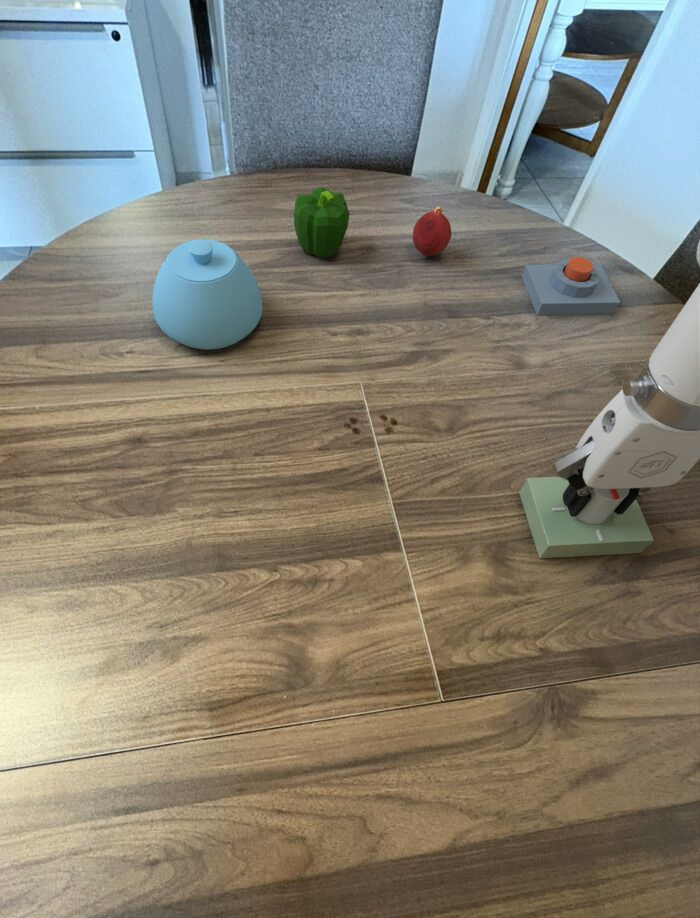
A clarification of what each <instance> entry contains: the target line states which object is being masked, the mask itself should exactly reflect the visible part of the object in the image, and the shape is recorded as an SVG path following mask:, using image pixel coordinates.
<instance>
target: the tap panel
mask: <svg viewBox="0 0 700 918" xmlns="http://www.w3.org/2000/svg"><path fill="white" fill-rule="evenodd" d="M568 485H569V482H568V480H564V479H563V478H561V477H559V476H544V477H527V478H526V479H525V481H524V482H523V484H522V486H521V488H520V489H519V491H518V494H519V497H520V501H521V503H522V507H523V510H524V513H525V517H526V520H527V523H528V526H529V529H530V533H531V536H532V539H533V542H534V545H535V549H536V552H537V555H538V558H539V559H553V558H554V559H556V558H573V557H592V556H593V557H594V556H611V555H612V556H613V555H631V554H641V553H643V551H644V550H646V549H647V548H648V547H649V546H650V545H651V544H652V543H653V542H654V540H655V539H654V537H653V534H652V532H651V530H650V528H649V525H648V523H647V520H646V519H645V516H644V513H643V511H642V509H641V507H640V504H639V502H638V500H637V499H636V500H635V501H634V502H633V503H632V504H631V505H630V506H629V507H628V509H627V510H626V511H625V512H624V513H623V514H616V513H615V512H614V511H613V513H612V514H611V515H610V516H609V517H608V518H607V520H606V521H604V522H603V523H600V524H588V523H585V522H583V521H581V520H580V519H578V518H577V517H576V516H574V517H571V516H570V513H569V510H568V507H567V506H565V504H564V502H563V493H564V491H565V490H566V488H567V487H568Z"/></svg>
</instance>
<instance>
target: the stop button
mask: <svg viewBox="0 0 700 918" xmlns="http://www.w3.org/2000/svg"><path fill="white" fill-rule="evenodd" d="M569 259H570V260H569V262H568V264H567V266H566V268H565V271H564V274H565V276H566V277H568V278H569V279H570V280H573V281H576V282H585V281H587V280H588V278H589V276H590V274H591V272H592V270H593V264H594V263H592V262H591V261H590V260H589V259H587V258H584V257H581V256H574V257H571V258H569Z"/></svg>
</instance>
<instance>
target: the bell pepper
mask: <svg viewBox="0 0 700 918" xmlns="http://www.w3.org/2000/svg"><path fill="white" fill-rule="evenodd" d="M348 208H349V207H348V204H347V201H346V198H345V196H344V193H343V192H333V191H331V190H329V189H326V188H325V187H318V188H316V189H313V190H312V191H311V194H306V193H305V194H299V195H297V197H296V199H295V202H294V209H293V226H294V229H295V234H296V239H297V241H298V244H299V246H300V248H301V249H302V250H303V252H304V253H305V254H309V255H314V256H315V257H318V258H321V259H326V258H327V259H328V258H332V257H333V256H335V255H337V253H338V252H339V251H340V249H341V247H342V244H343V242H344V239H345V236H346V233H347V231H348V227H349V222H350V221H349V220H350V211H349V209H348Z"/></svg>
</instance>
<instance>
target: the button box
mask: <svg viewBox="0 0 700 918" xmlns="http://www.w3.org/2000/svg"><path fill="white" fill-rule="evenodd" d="M570 259H571V258H565V259H561V260H559V261H558V262H556V263H555V264H554V263H553V264H525V266H524V269H523V271H522V274H521V280H522V282H523V284H524V286H525V289H526V293H527V294H528V297H529V300H530V301H531V304H532V306H533V308H534V311H535V314H536V316H577V315H580V316H581V315H582V316H585V315H614V314H615V313H616V312H617V309H618V308H619V306H620V304H621V301H620V299H619V296H618V295H617V293H616V291H615V289H614V287H613V285H612V283H611V281H610V279H609V277H608V275H607V273H606V272H605V270H604V268H603V266H602V264H601V263H592V264H593V270H592V272H591V274H590V276H589V278H588V280H587V281H585V282H576V281H573V280H570V279H569V278H568V277H566V276H565V274H564V271H565V268H566V266H567V264H568V262H569V260H570Z"/></svg>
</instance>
